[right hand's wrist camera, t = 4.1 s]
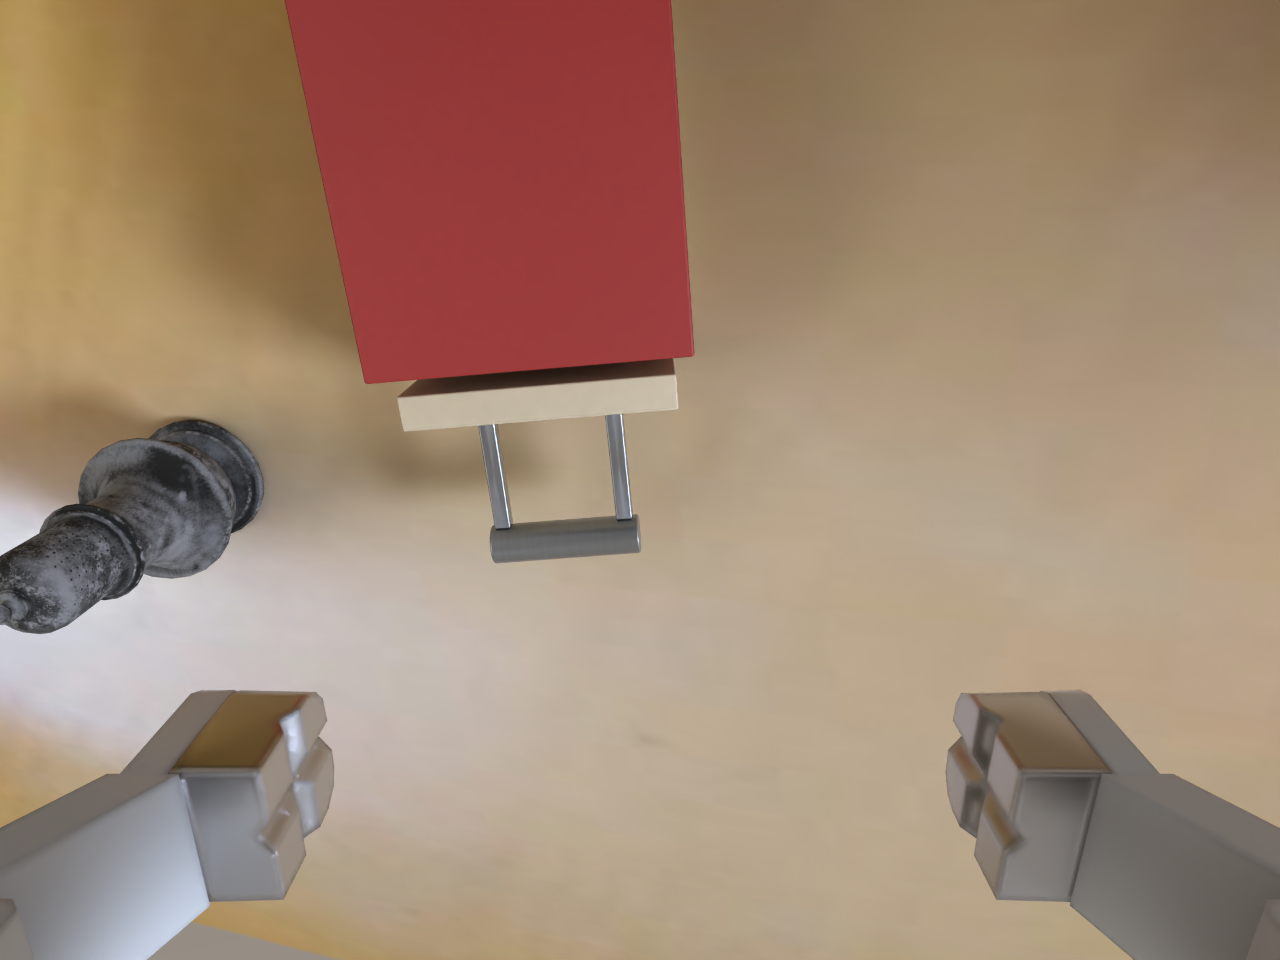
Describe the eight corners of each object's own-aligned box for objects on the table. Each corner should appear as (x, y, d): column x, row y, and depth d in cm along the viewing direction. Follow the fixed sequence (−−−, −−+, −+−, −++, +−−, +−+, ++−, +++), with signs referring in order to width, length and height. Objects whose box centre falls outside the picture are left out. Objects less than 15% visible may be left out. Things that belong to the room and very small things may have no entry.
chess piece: (150, 542, 36) (-77, 707, 25) (118, 414, 34) (-146, 530, 23) (281, 541, 36) (113, 705, 25) (257, 412, 34) (61, 527, 23)
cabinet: (685, 316, 33) (694, 356, 25) (427, 339, 33) (363, 384, 26) (642, -311, 26) (638, -505, 18) (318, -271, 26) (189, -446, 19)
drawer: (684, 511, 34) (691, 576, 29) (470, 527, 35) (434, 595, 29) (631, -204, 26) (625, -310, 20) (347, -172, 26) (264, -266, 21)
